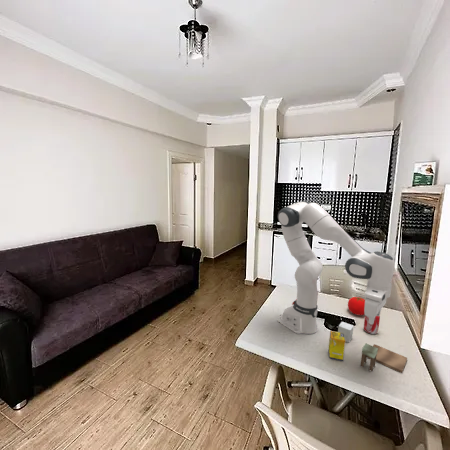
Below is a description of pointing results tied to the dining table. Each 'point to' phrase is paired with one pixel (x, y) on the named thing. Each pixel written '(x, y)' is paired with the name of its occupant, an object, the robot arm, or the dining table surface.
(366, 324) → the soda can
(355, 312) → the tomato
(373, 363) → the stool
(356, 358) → the dining table surface
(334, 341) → the supplement box
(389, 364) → the walnut board
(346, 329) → the product box
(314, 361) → the dining table surface
